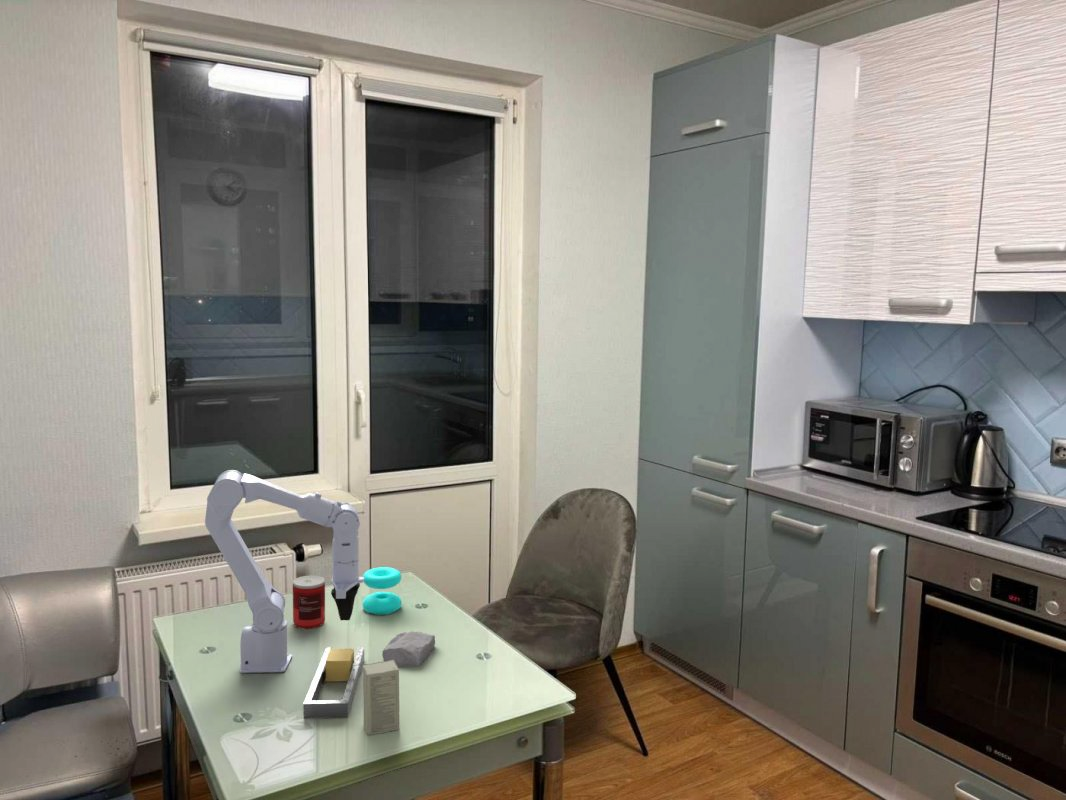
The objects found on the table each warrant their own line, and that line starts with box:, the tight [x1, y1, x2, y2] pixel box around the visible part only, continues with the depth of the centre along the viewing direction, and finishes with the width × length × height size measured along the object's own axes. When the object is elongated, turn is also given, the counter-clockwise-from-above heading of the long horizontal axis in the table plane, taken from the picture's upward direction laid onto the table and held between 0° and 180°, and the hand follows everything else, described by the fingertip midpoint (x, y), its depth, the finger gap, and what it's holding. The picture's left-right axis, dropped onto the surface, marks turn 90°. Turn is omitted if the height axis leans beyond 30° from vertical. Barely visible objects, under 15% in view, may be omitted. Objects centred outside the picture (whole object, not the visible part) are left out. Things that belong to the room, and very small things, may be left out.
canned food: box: [292, 575, 326, 630], centre depth 198 cm, size 8×8×11 cm
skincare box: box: [362, 660, 401, 736], centre depth 151 cm, size 6×4×12 cm
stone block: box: [382, 631, 436, 667], centre depth 183 cm, size 12×5×10 cm
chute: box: [302, 646, 365, 719], centre depth 166 cm, size 8×25×3 cm, turn 5°
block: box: [325, 647, 355, 682], centre depth 171 cm, size 5×6×4 cm
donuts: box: [362, 566, 402, 615], centre depth 209 cm, size 10×10×10 cm
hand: (345, 618), depth 179 cm, fingers closed
